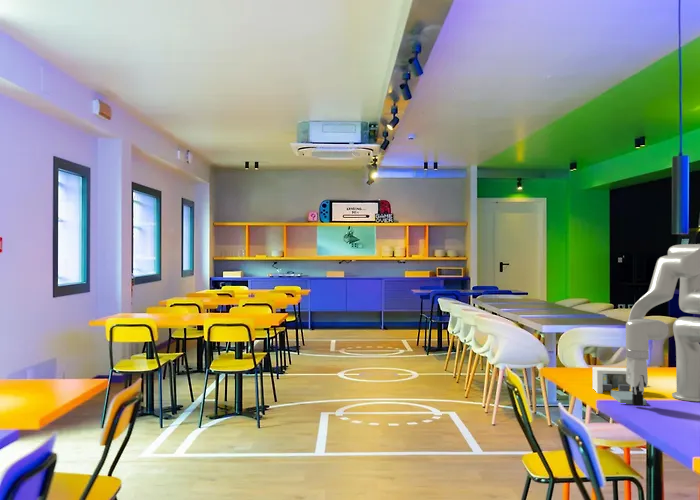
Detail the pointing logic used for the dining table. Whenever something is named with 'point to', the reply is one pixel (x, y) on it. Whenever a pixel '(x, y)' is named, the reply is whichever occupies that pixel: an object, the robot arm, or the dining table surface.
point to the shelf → (598, 379)
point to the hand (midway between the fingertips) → (637, 404)
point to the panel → (624, 396)
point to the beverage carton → (615, 379)
